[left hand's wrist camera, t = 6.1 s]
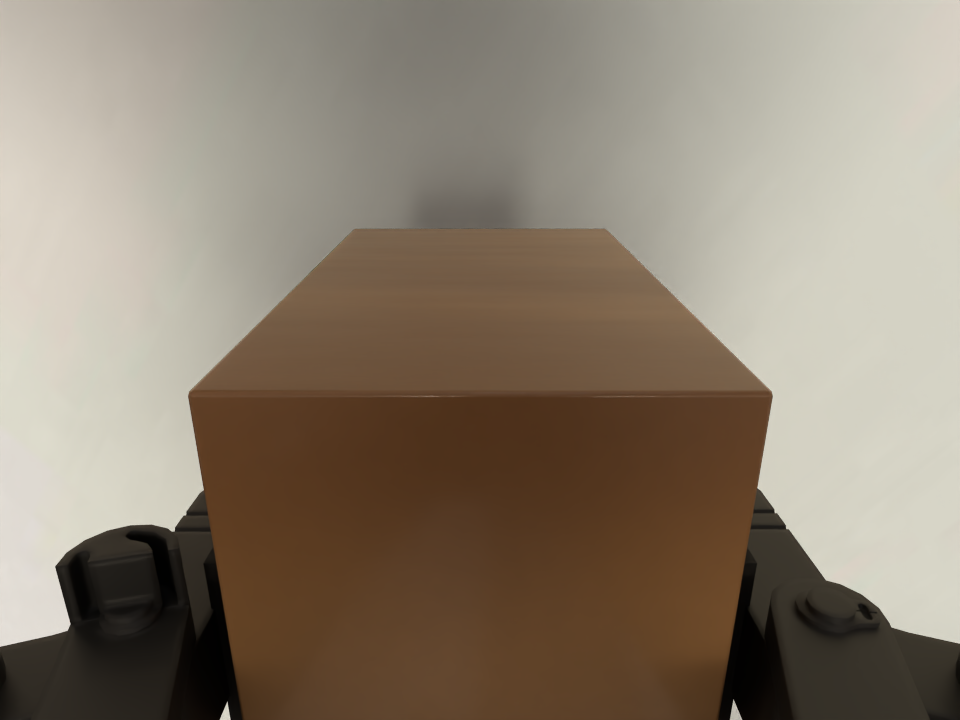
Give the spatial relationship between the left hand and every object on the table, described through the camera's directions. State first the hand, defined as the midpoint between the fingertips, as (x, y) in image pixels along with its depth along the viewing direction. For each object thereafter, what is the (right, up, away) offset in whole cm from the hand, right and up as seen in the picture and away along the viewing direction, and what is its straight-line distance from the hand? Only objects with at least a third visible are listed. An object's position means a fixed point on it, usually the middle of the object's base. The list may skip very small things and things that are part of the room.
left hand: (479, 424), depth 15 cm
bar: (0, -9, +4) cm, 10 cm away
